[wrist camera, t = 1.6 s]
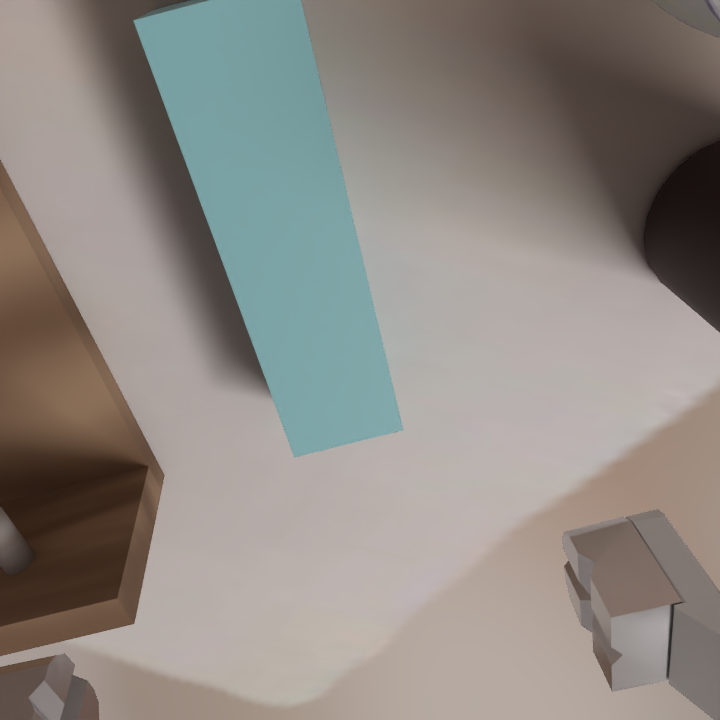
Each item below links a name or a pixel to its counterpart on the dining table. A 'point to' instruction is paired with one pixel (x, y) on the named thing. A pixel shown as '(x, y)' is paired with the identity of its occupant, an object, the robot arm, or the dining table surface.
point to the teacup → (695, 13)
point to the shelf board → (276, 209)
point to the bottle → (689, 234)
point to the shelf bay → (63, 459)
